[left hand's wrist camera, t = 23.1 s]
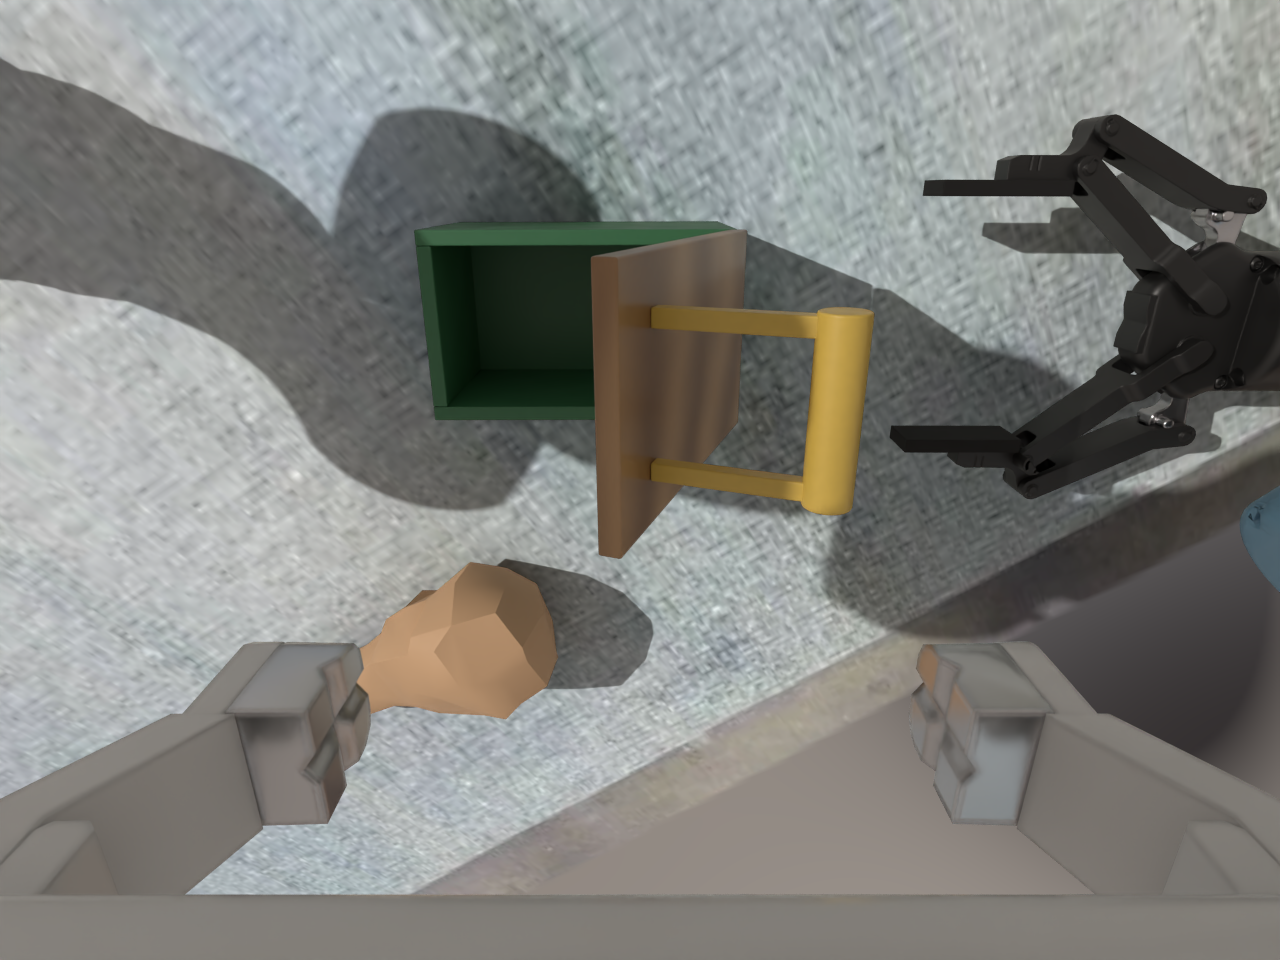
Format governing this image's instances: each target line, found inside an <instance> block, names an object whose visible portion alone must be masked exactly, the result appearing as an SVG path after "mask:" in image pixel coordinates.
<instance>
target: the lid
mask: <svg viewBox="0 0 1280 960" xmlns="http://www.w3.org/2000/svg"><path fill="white" fill-rule="evenodd" d="M746 244H747V230H734V229H731V230H726V231H721V232H716V233H711V234H705V235H700V236H695V237H690V238H685V239H679V240H674V241H669V242H664V243H659V244H653V245H648V246H643V247H638V248H633V249H627V250H622V251H617V252H612V253H606V254H601V255H596V256H593V257H591V285H592V322H593V359H594V396H595V434H596V471H597V508H598V545H599V555H601V556H606V557H612V558H618V559H621V558H622V557H623V556H624V555H625V554H626V552H627V551H628V550H629V549H630V548H631V547H632V545H633V544H634V543H635V542H636V541H637V540H638V538H639V537H640V536H641V535H642V534H643V533H644V531H645V530H646V529H647V528H648V527H649V526H650V524H651V523H652V522H653V521H654V520H655V519H656V517H657V516H658V515H659V514H660V513H661V512H662V510H663V509H664V508H665V507H666V506H667V505H668V503H669V502H670V501H671V500H672V499H673V498H674V496H675V495H676V494H677V493H678V492H679V490H680V489H681V488H682V487H683V486H684V485H685V486H692V487H699V488H707V489H714V490H721V491H728V492H736V493H743V494H750V495H757V496H765V497H772V498H779V499H786V500H794V501H801V504H802V506H803V507H804V508H805V509H806V510H808V511H811V512H813V513H817V514H822V515H841V514H845V513H848V512H849V511H850V510H851V509H852V505H853V497H854V488H855V479H856V471H857V462H858V454H859V445H860V436H861V428H862V419H863V410H864V402H865V393H866V384H867V376H868V367H869V358H870V350H871V341H872V332H873V324H874V312H872V311H870V310H867V309H861V308H851V307H830V308H823V309H820V310H818V312H817V313H809V312H790V311H771V310H752V309H743V305H744V285H745V264H746ZM742 334H748V335H764V336H779V337H795V338H811V339H815V342H814V353H813V365H812V376H811V388H810V399H809V411H808V423H807V434H806V446H805V457H804V469H803V476H796V475H788V474H780V473H772V472H765V471H757V470H749V469H741V468H733V467H725V466H717V465H709V464H703V462H704V461H705V460H706V459H707V458H708V457H709V455H710V454H711V453H712V452H713V451H714V450H715V448H716V447H717V446H718V445H719V444H720V443H721V441H722V440H723V439H724V438H725V437H726V436H727V434H728V433H729V432H730V431H731V430H732V429H733V427H734V426H735V425H736V424H737V422H738V407H739V386H740V366H741V346H742Z"/></svg>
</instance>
